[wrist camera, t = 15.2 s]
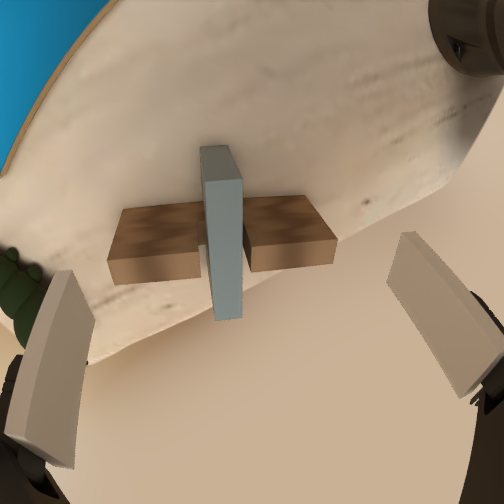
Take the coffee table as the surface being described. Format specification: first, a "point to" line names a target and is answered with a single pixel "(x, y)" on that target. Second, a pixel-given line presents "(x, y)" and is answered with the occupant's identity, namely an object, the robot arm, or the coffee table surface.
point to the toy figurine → (20, 295)
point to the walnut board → (194, 233)
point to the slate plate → (223, 229)
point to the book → (36, 57)
